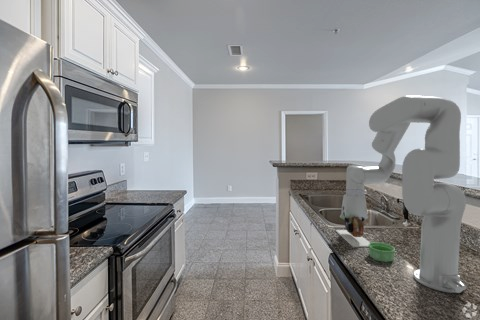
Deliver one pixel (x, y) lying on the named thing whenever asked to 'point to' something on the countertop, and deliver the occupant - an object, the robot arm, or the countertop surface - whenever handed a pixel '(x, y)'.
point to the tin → (356, 227)
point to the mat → (353, 239)
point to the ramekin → (381, 251)
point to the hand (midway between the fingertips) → (353, 231)
